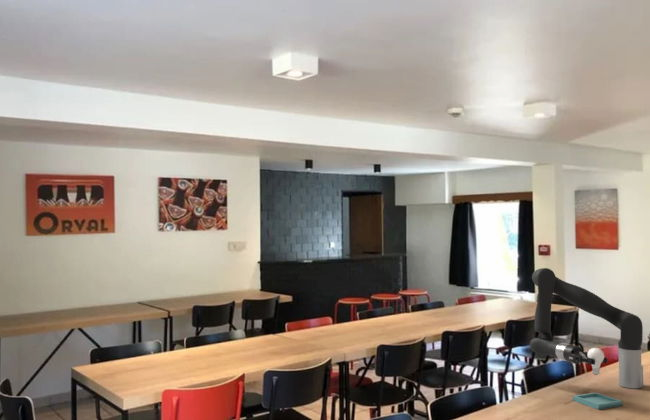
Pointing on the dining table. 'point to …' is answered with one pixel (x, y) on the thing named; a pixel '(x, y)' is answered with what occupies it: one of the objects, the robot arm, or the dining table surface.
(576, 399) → the tray
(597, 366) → the lightbulb
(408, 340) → the dining table surface
